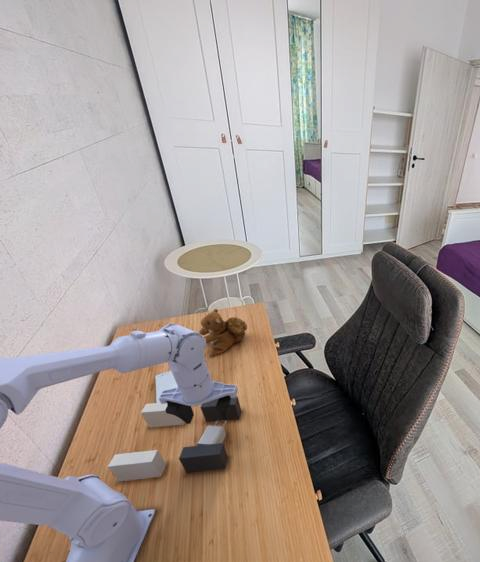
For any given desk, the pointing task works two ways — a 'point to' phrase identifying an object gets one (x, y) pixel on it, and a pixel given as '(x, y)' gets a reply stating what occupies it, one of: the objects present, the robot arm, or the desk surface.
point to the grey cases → (213, 453)
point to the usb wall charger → (213, 435)
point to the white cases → (146, 461)
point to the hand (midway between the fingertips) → (208, 417)
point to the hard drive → (164, 383)
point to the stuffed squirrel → (222, 331)
